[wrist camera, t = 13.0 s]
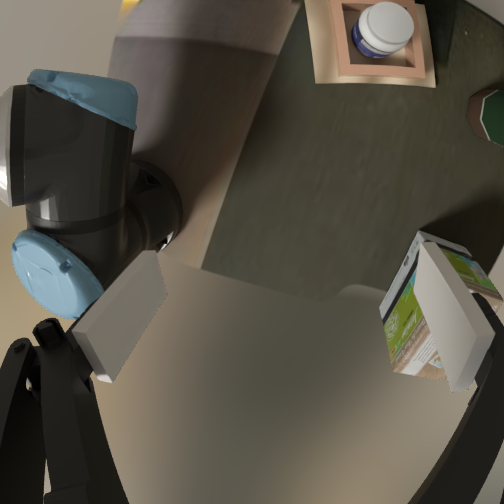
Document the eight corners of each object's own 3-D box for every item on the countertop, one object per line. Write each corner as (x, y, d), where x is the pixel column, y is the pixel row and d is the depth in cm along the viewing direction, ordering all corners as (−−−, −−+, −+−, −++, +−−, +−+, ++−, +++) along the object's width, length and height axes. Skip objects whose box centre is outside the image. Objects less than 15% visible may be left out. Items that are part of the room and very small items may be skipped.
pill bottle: (360, 11, 28) (376, -14, 19) (400, 33, 28) (427, 16, 20) (342, 45, 31) (354, 28, 22) (383, 67, 31) (407, 58, 23)
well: (337, 76, 33) (340, 74, 30) (327, 2, 28) (329, -6, 25) (416, 79, 31) (425, 78, 28) (406, 7, 26) (414, 0, 23)
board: (315, 83, 35) (315, 83, 34) (304, 0, 30) (304, -2, 29) (432, 87, 32) (435, 87, 31) (421, 7, 27) (424, 5, 26)
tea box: (415, 227, 41) (453, 281, 28) (465, 246, 41) (508, 300, 28) (376, 307, 49) (392, 374, 36) (424, 319, 48) (447, 382, 35)
